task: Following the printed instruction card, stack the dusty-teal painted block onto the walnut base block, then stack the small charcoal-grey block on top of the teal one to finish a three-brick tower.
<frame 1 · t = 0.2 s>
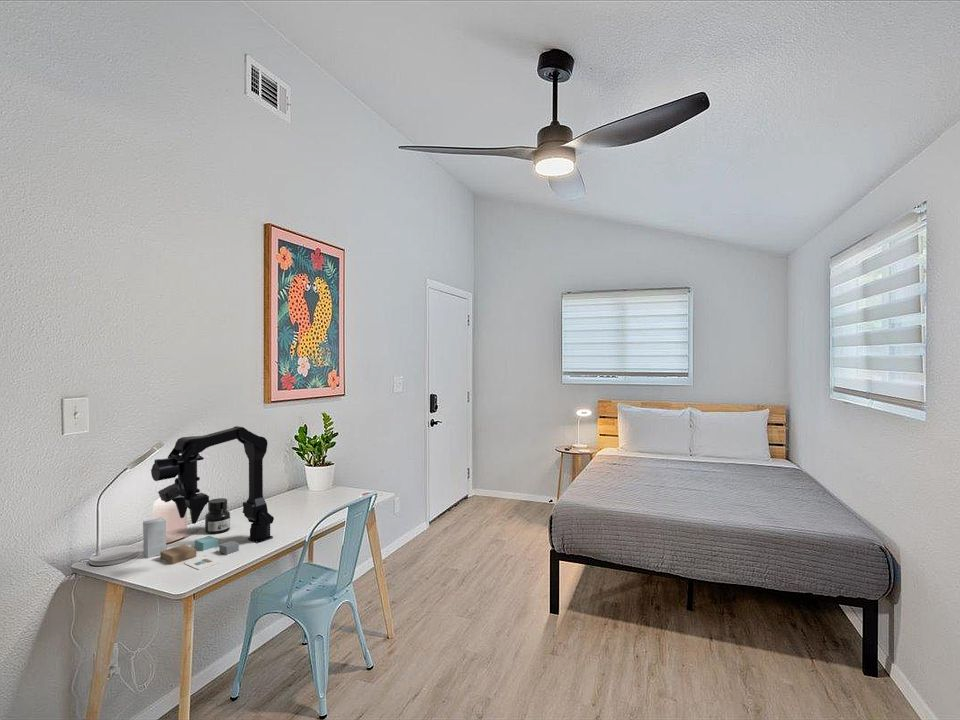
hand: (188, 520, 177), 14 cm above the table, fingers open, 9 cm apart
ink bottle: (217, 531, 208), on the table
skincare box: (154, 554, 183), on the table
instruction card: (201, 563, 176), on the table
teal block: (206, 547, 191), on the table
base block: (178, 559, 180), on the table
grey block: (229, 552, 187), on the table
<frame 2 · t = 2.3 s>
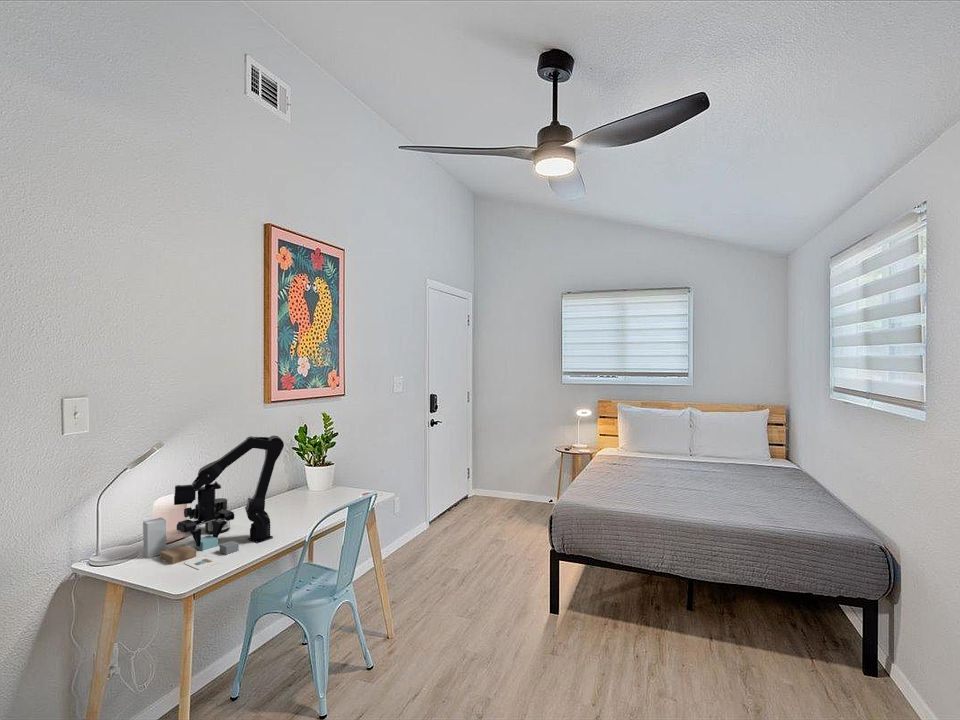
hand: (206, 543, 191), 1 cm above the table, fingers closed on teal block, 6 cm apart
teal block: (206, 546, 191), on the table, touching gripper
everything else where it was.
when the fingers open (5 cm above the table, at t = 5.7 s): teal block drops 1 cm, resting on base block.
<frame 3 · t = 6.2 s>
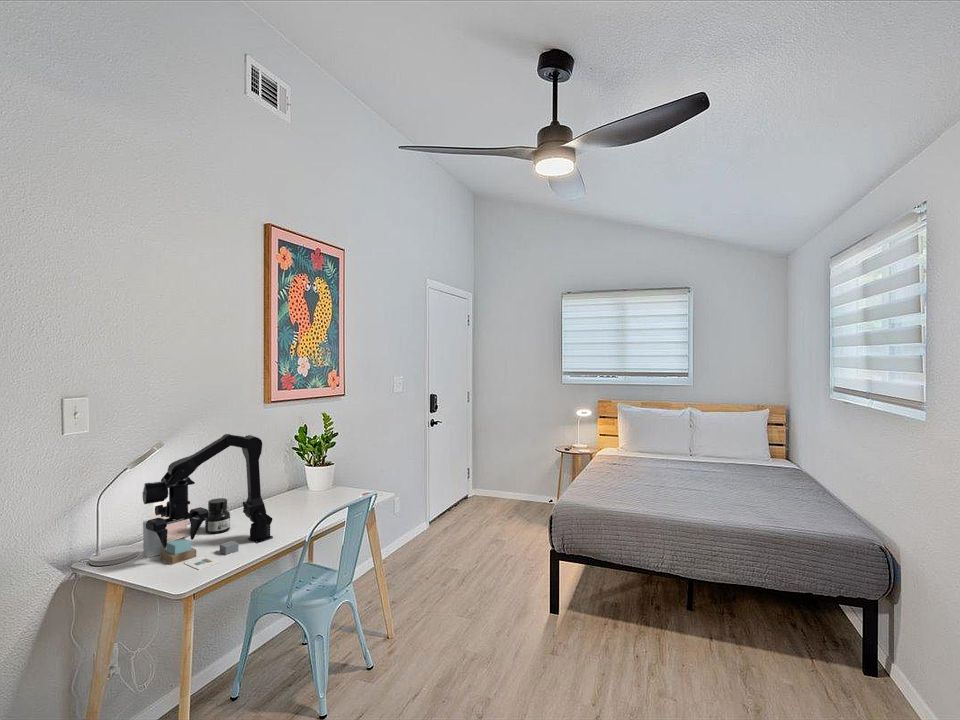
hand: (178, 543, 180), 5 cm above the table, fingers open, 9 cm apart
teal block: (179, 550, 180), point 3 cm above the table, touching base block
base block: (178, 559, 180), on the table, touching teal block
everything else where it was.
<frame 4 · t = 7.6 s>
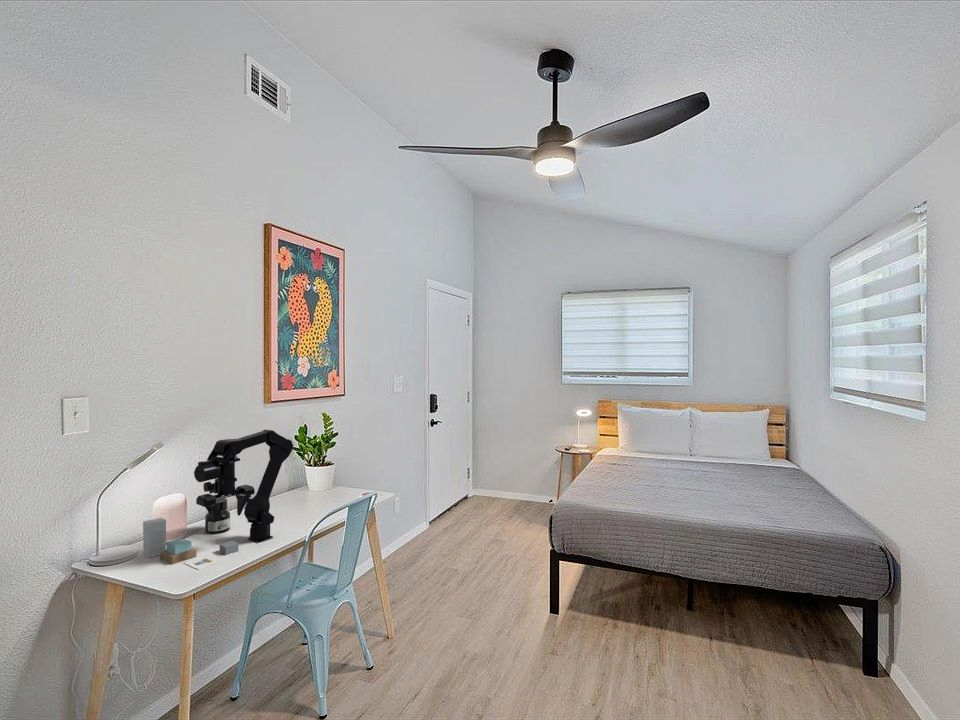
hand: (226, 518, 186), 12 cm above the table, fingers open, 9 cm apart
nothing on the table moved.
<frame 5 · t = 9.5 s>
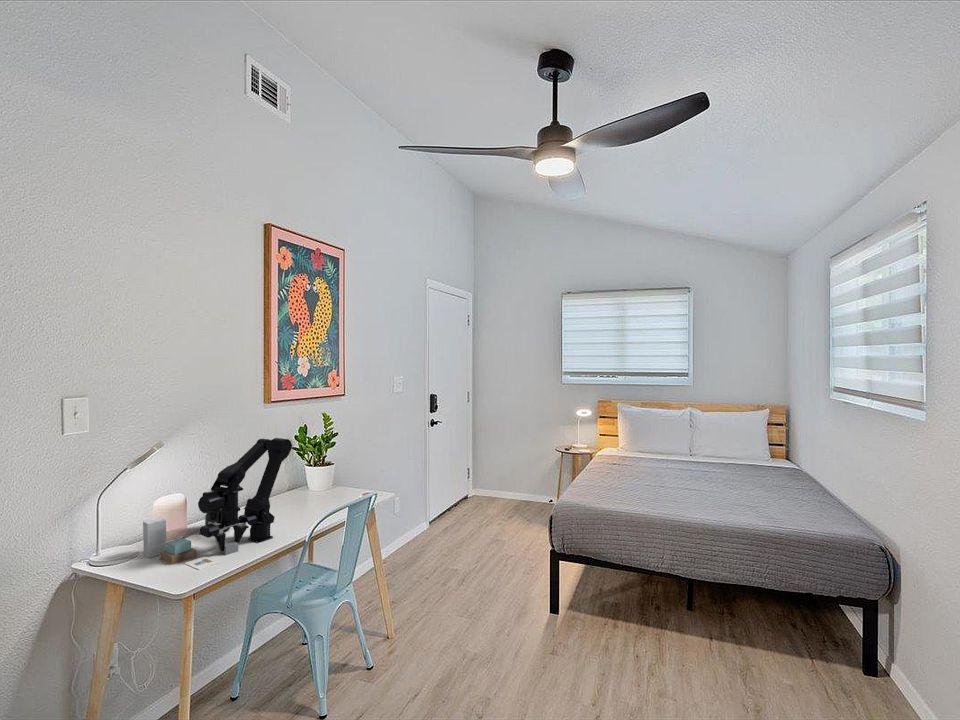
hand: (229, 548, 187), 1 cm above the table, fingers closed on grey block, 5 cm apart
teal block: (178, 550, 180), point 3 cm above the table
base block: (178, 559, 180), on the table
grey block: (229, 551, 187), on the table, touching gripper
everything else where it was.
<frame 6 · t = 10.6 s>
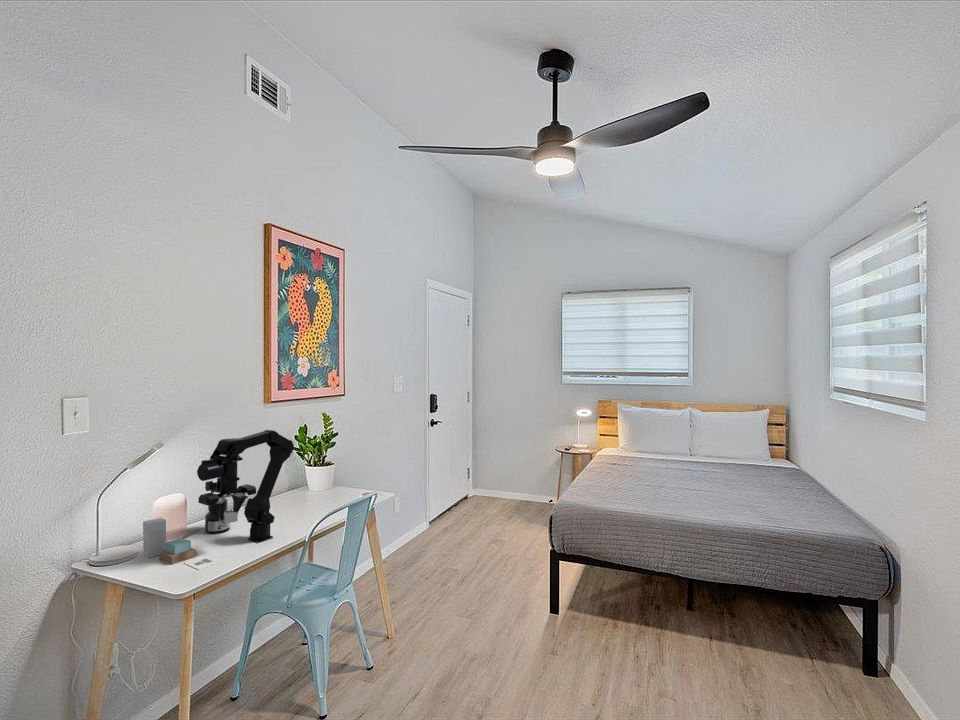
hand: (228, 518, 186), 12 cm above the table, fingers closed on grey block, 5 cm apart
grey block: (228, 521, 186), point 11 cm above the table, touching gripper
everything else where it was.
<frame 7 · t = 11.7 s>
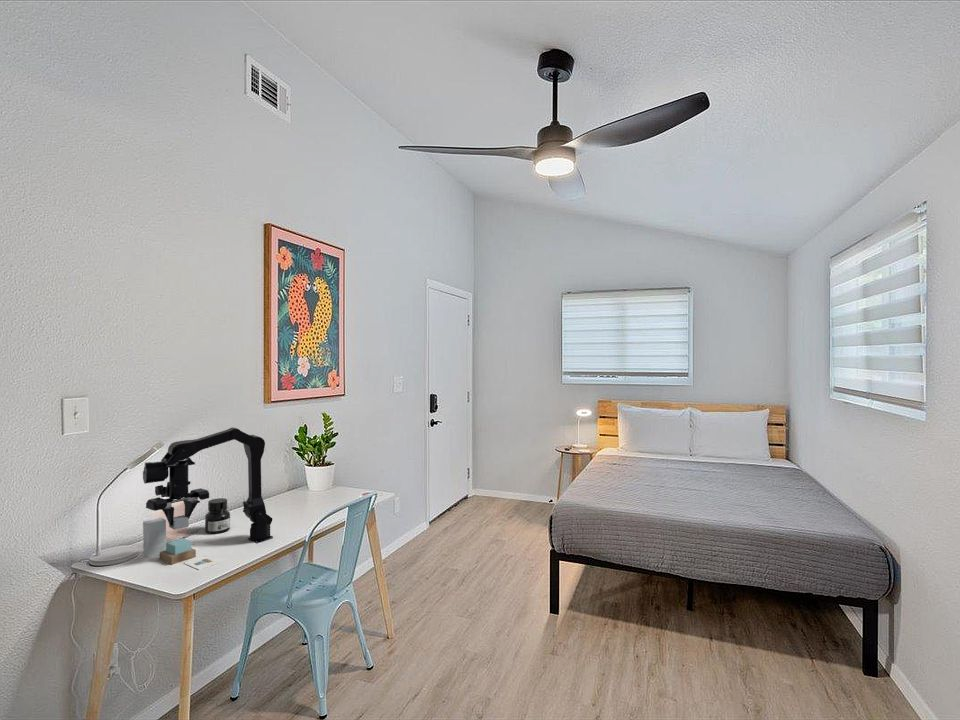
hand: (178, 523, 180), 12 cm above the table, fingers closed on grey block, 5 cm apart
teal block: (178, 550, 181), point 2 cm above the table, touching base block
base block: (177, 559, 180), on the table, touching teal block
grey block: (178, 526, 180), point 11 cm above the table, touching gripper
everything else where it was.
when the fingers open (8 cm above the table, at t = 12.8 s): grey block drops 1 cm, resting on teal block.
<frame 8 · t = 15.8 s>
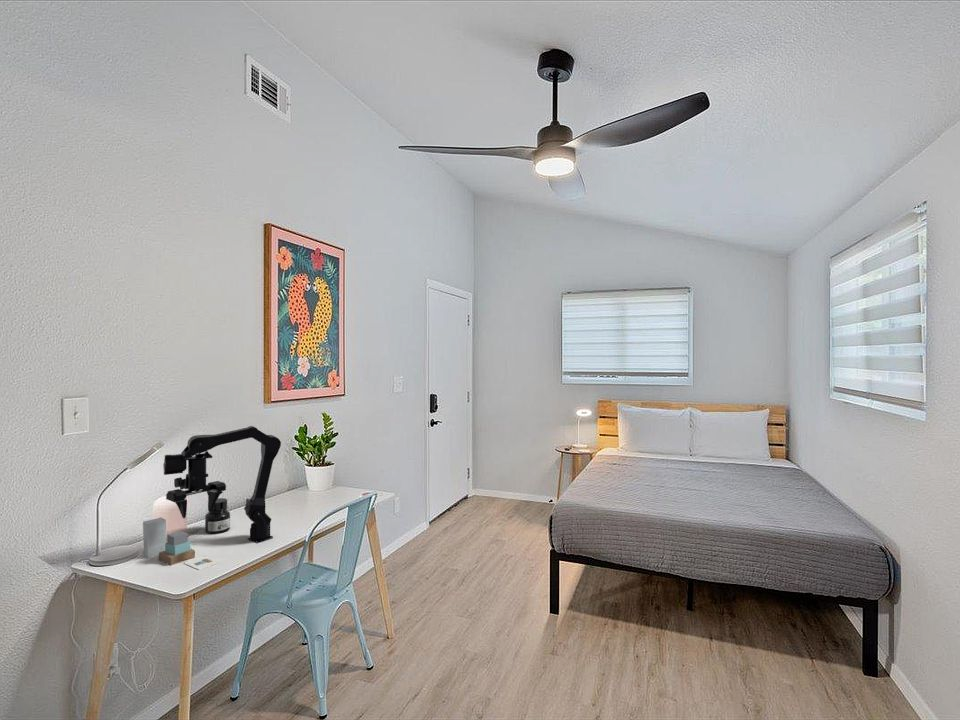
hand: (197, 514, 187), 13 cm above the table, fingers open, 9 cm apart
teal block: (178, 550, 180), point 2 cm above the table, touching base block, grey block
grey block: (177, 542, 180), point 5 cm above the table, touching teal block
everything else where it was.
at the end: teal block 0.4 cm off-centre on the base block, point 3.0 cm above the base block's base; grey block 0.4 cm off-centre on the teal block, point 3.0 cm above the teal block's base; grey block tilted 0° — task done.
